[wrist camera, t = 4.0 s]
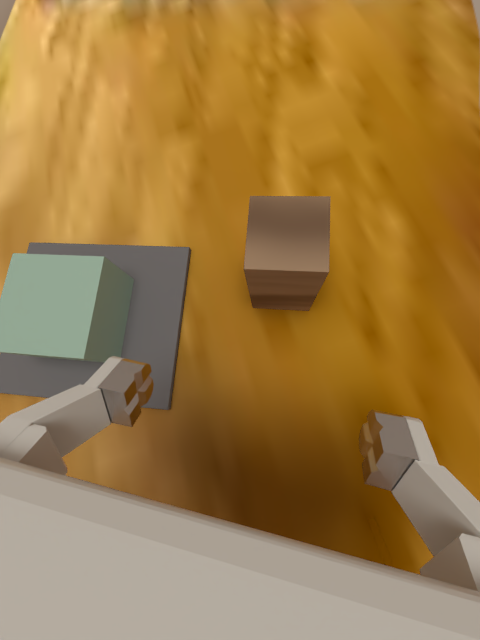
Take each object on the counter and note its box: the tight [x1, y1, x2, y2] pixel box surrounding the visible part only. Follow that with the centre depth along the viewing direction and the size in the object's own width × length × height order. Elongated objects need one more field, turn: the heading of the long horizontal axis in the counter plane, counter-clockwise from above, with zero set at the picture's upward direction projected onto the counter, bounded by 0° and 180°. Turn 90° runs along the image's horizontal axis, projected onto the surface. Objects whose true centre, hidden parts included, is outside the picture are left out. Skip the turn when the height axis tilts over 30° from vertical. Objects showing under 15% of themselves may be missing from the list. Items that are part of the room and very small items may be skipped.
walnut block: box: [244, 196, 330, 311], centre depth 22 cm, size 5×5×9 cm
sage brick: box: [0, 253, 134, 362], centre depth 24 cm, size 8×8×5 cm
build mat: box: [0, 243, 191, 410], centre depth 27 cm, size 15×17×1 cm
